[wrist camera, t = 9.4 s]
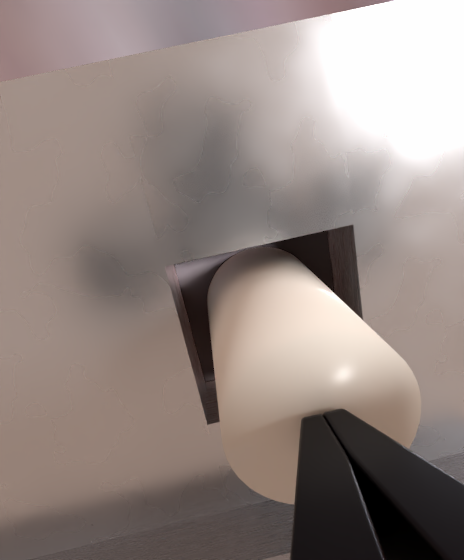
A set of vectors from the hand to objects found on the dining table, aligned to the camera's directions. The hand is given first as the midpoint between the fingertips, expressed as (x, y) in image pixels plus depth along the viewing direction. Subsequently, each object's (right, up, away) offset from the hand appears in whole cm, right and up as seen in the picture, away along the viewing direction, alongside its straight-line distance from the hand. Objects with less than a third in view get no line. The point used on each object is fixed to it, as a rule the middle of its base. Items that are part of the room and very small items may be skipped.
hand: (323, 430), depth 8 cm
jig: (-4, +1, +7) cm, 8 cm away
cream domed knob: (-1, +2, +7) cm, 7 cm away
